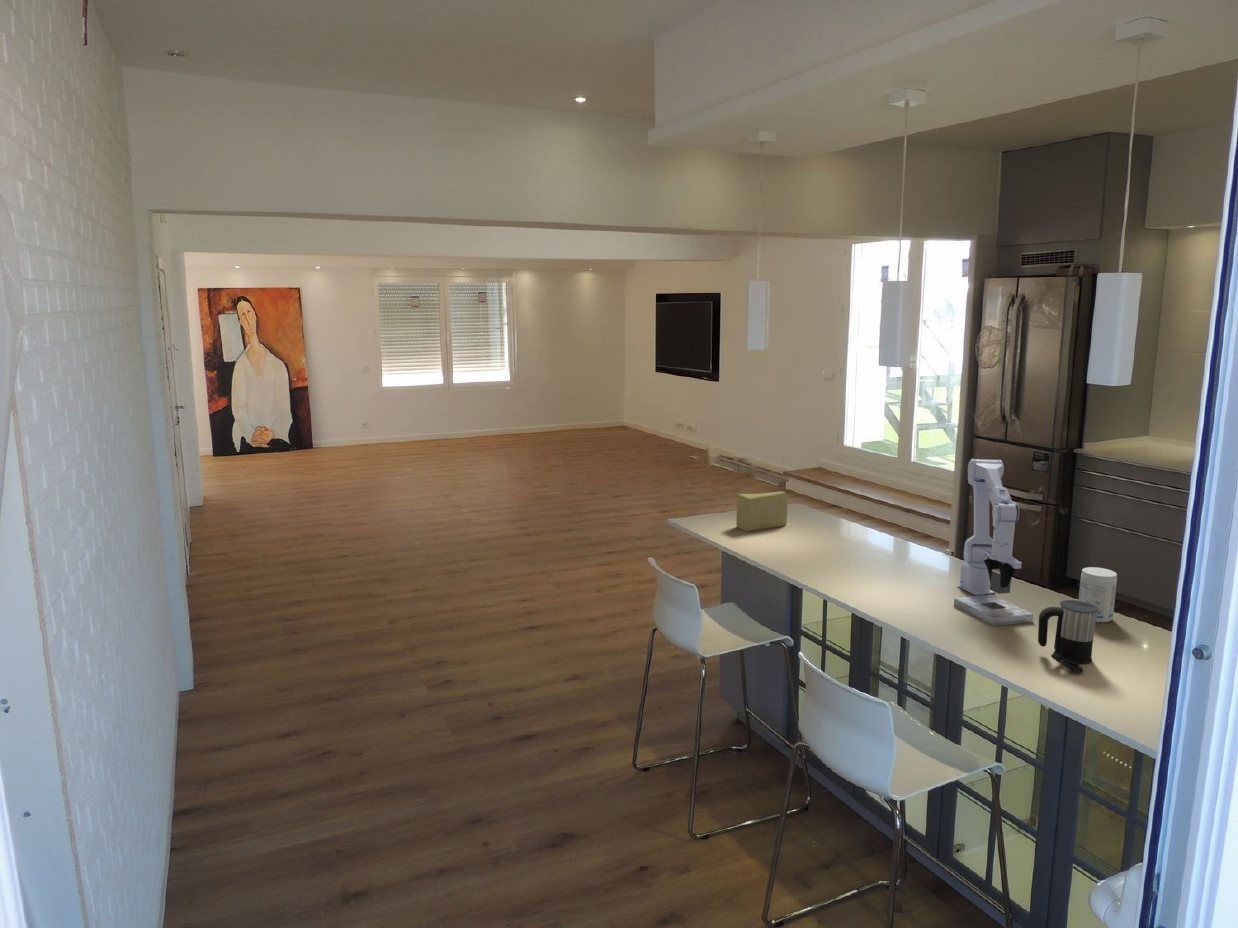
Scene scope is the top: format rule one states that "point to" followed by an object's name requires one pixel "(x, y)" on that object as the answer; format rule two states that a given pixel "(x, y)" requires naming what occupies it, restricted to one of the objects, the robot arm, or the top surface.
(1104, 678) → the top surface
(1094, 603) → the supplement tub
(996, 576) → the plug
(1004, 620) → the socket plate
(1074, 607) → the milk frother
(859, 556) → the top surface
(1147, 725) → the top surface
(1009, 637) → the top surface
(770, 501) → the cheese
